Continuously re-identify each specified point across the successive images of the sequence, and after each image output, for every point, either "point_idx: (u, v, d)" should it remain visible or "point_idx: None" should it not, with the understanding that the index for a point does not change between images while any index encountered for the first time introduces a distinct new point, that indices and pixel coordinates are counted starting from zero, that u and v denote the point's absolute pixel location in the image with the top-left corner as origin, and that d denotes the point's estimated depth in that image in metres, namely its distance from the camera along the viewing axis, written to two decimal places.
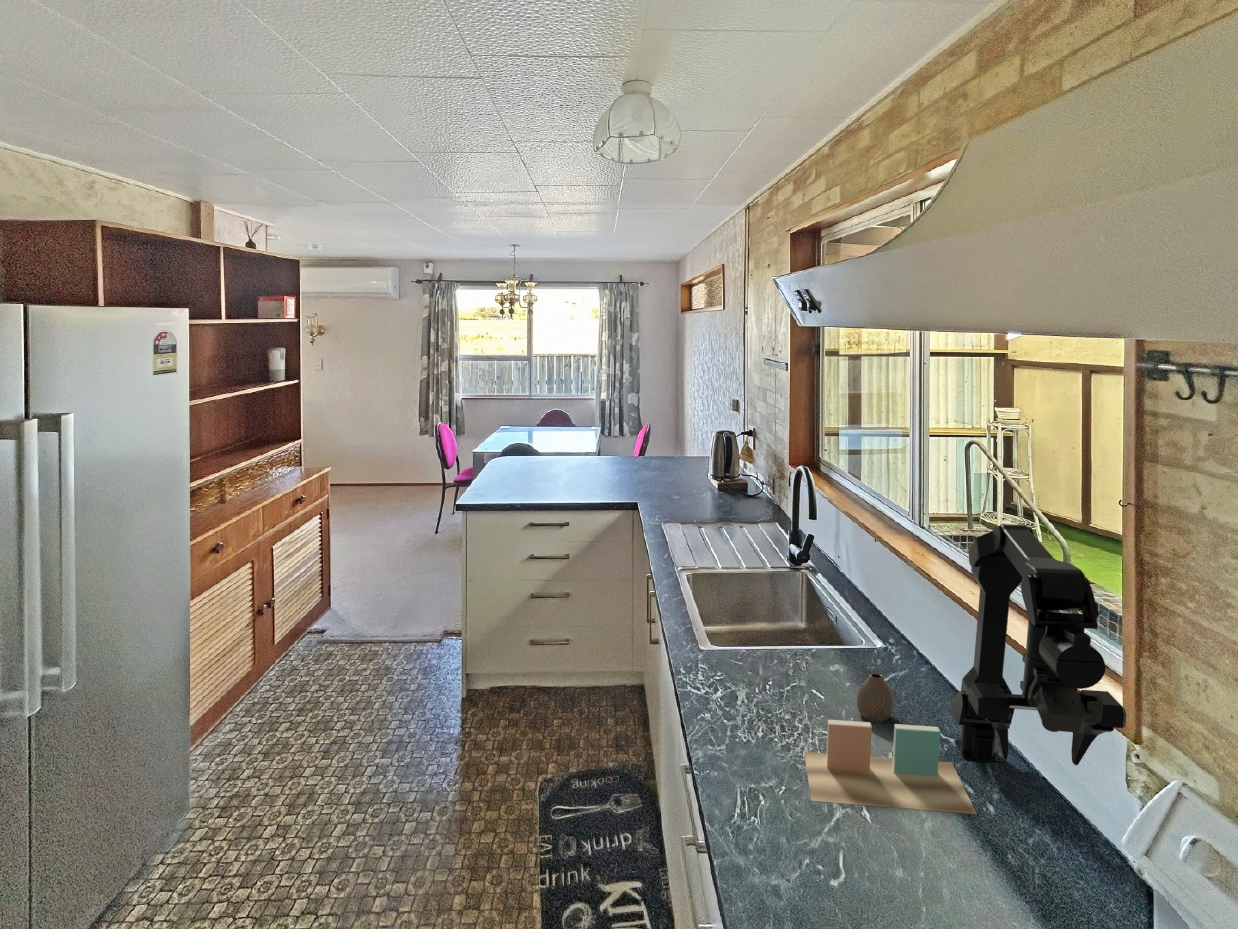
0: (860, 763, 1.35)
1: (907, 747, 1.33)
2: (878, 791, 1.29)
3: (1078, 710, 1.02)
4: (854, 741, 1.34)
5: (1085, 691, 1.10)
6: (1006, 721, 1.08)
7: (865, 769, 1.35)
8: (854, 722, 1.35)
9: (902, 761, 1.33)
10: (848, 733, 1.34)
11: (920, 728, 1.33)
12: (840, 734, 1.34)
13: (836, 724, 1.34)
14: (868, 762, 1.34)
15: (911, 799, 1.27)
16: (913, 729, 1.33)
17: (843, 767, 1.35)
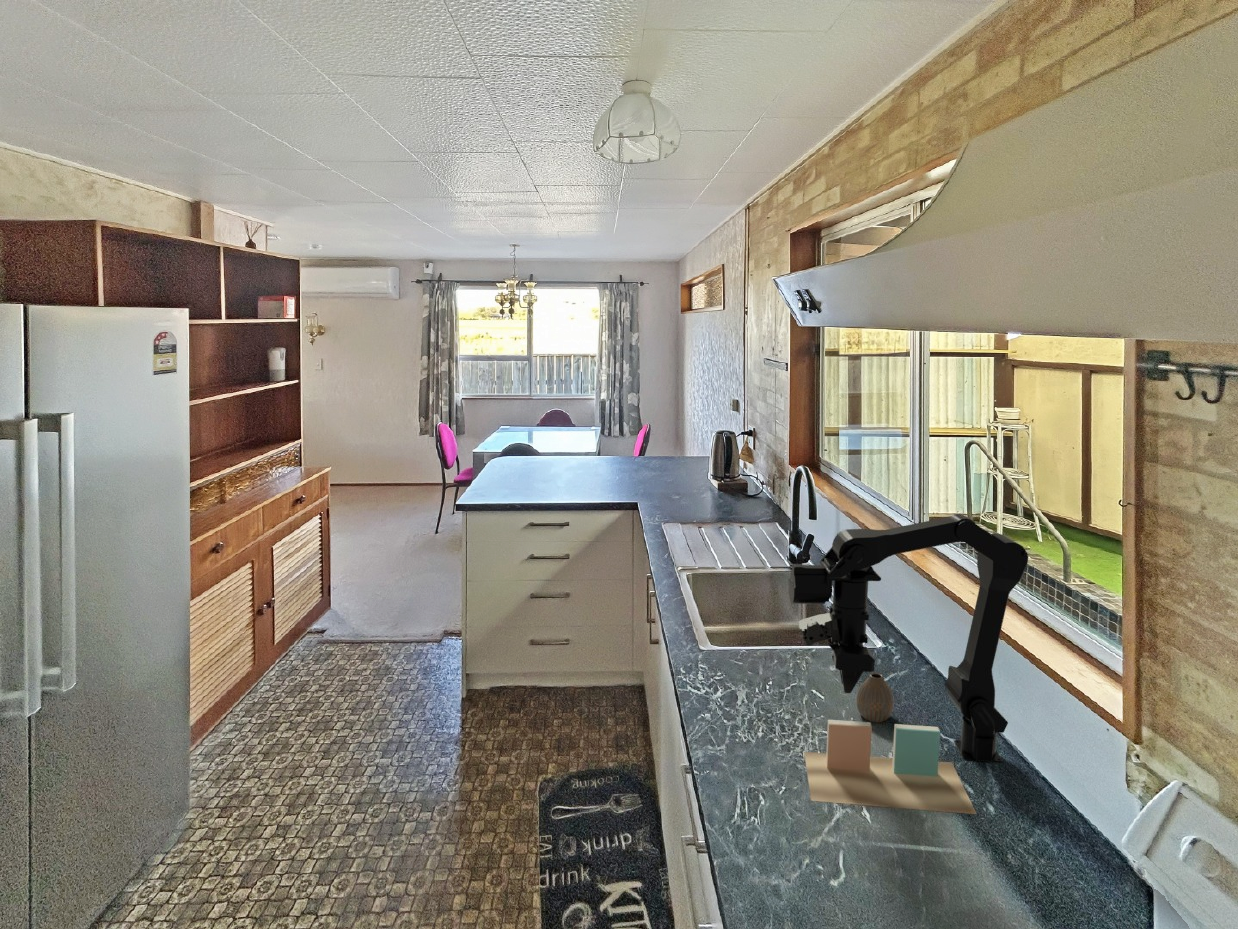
0: (860, 763, 1.35)
1: (907, 747, 1.33)
2: (878, 791, 1.29)
3: (805, 626, 1.38)
4: (854, 741, 1.34)
5: (863, 647, 1.32)
6: (829, 643, 1.42)
7: (865, 769, 1.35)
8: (854, 722, 1.35)
9: (902, 761, 1.33)
10: (848, 733, 1.34)
11: (920, 728, 1.33)
12: (840, 734, 1.34)
13: (836, 724, 1.34)
14: (868, 762, 1.34)
15: (911, 799, 1.27)
16: (913, 729, 1.33)
17: (843, 767, 1.35)
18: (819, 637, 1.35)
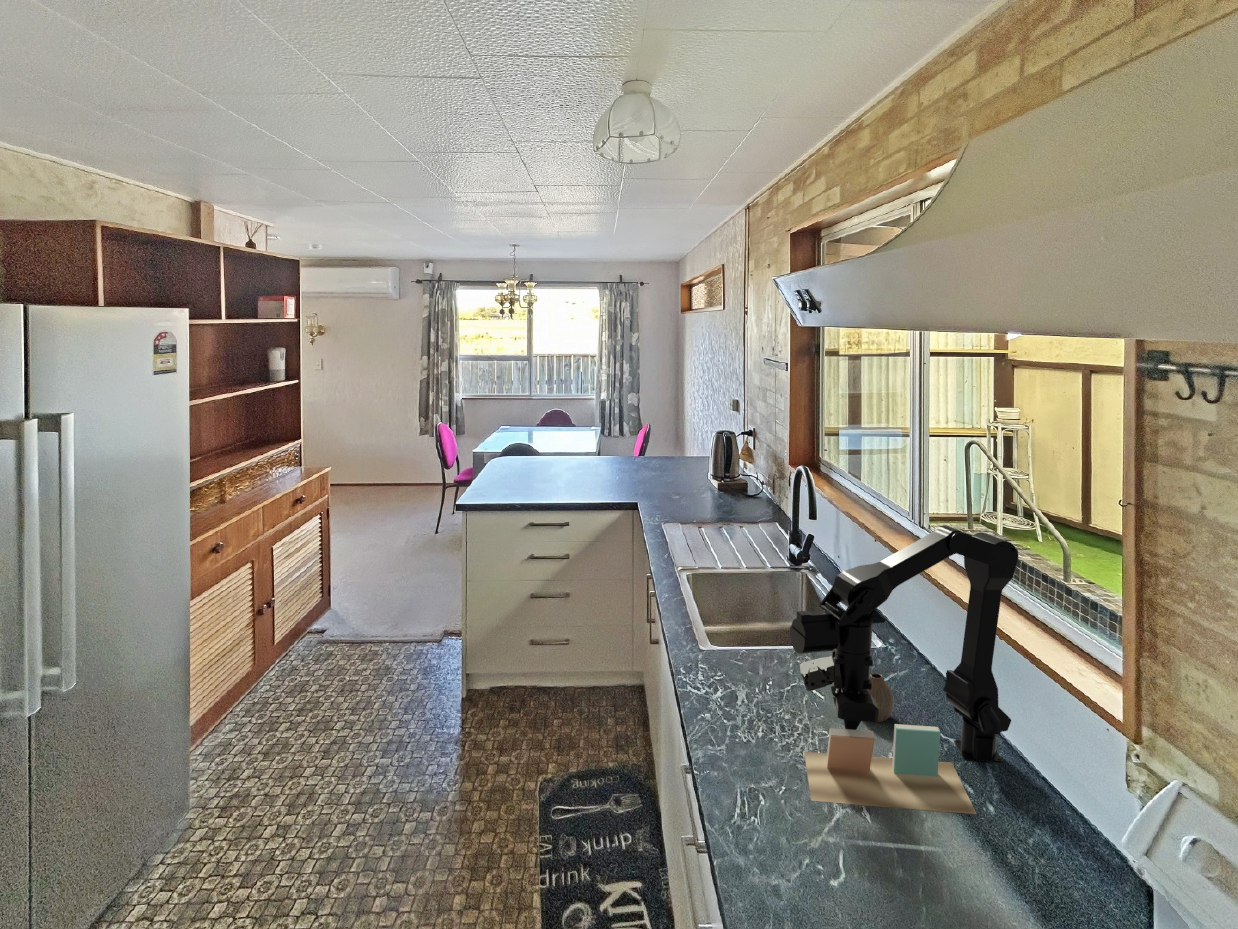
0: (860, 765, 1.34)
1: (907, 747, 1.33)
2: (878, 791, 1.29)
3: (806, 671, 1.33)
4: (856, 749, 1.32)
5: (867, 694, 1.27)
6: (833, 692, 1.35)
7: (865, 770, 1.34)
8: (857, 731, 1.32)
9: (902, 761, 1.33)
10: (850, 743, 1.32)
11: (920, 728, 1.33)
12: (842, 744, 1.32)
13: (838, 736, 1.31)
14: (869, 765, 1.34)
15: (911, 799, 1.27)
16: (913, 729, 1.33)
17: (843, 768, 1.35)
18: (821, 683, 1.29)
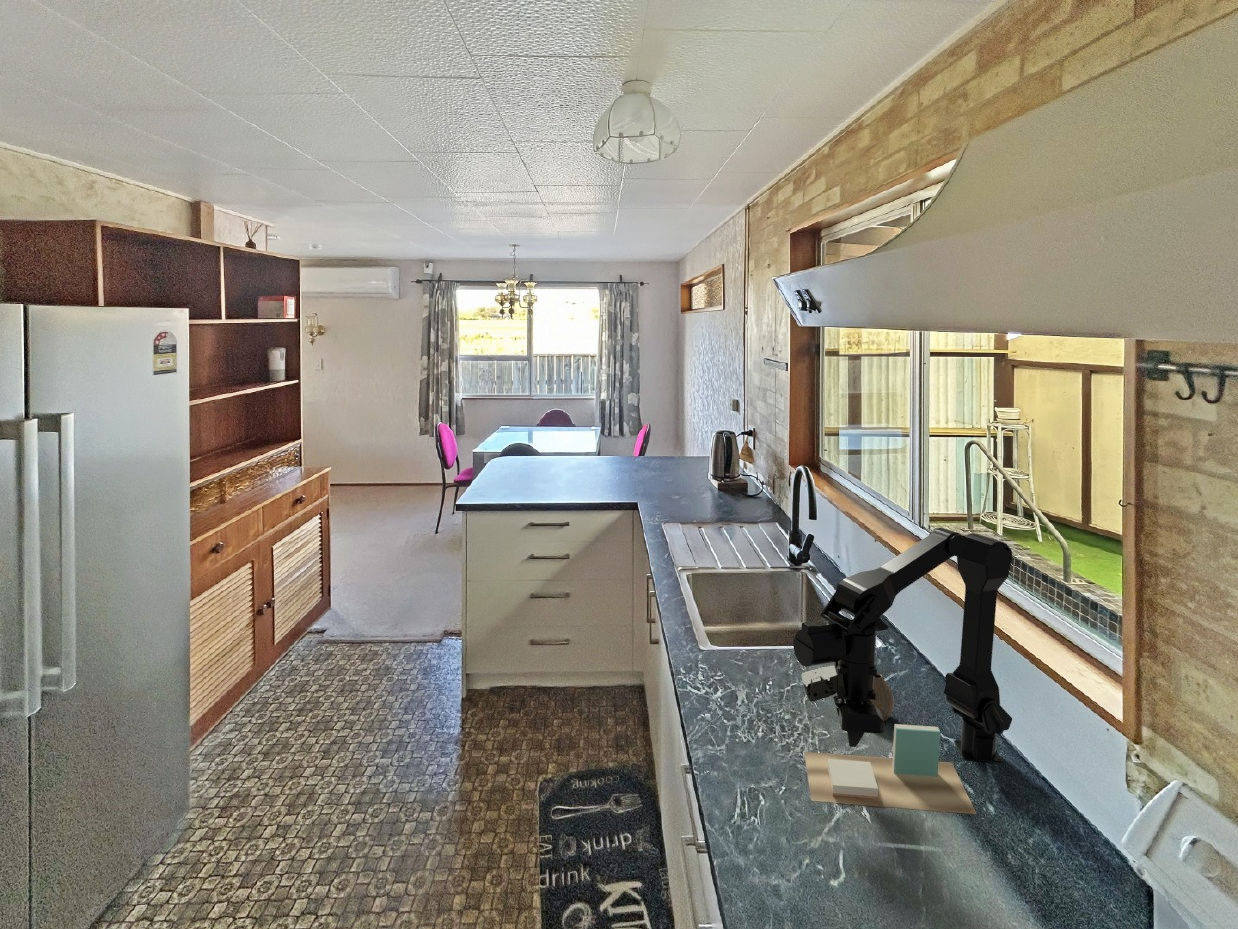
0: None
1: (907, 747, 1.33)
2: (878, 791, 1.29)
3: (808, 681, 1.29)
4: None
5: (871, 705, 1.24)
6: (836, 702, 1.32)
7: None
8: (861, 789, 1.27)
9: (902, 761, 1.33)
10: None
11: (920, 728, 1.33)
12: None
13: (840, 794, 1.27)
14: None
15: (911, 799, 1.27)
16: (913, 729, 1.33)
17: None
18: (824, 694, 1.26)
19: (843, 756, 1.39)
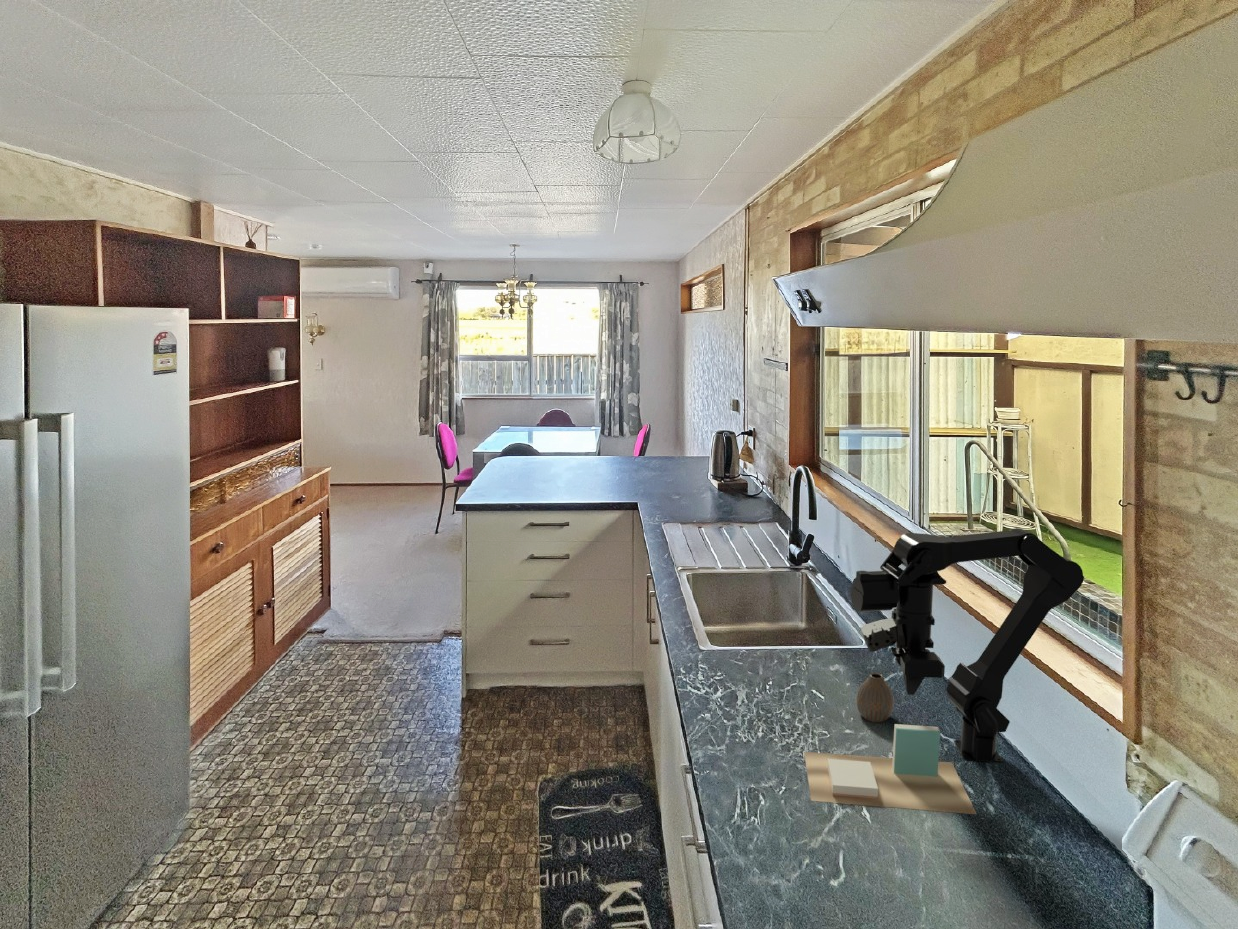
0: None
1: (907, 747, 1.33)
2: (878, 791, 1.29)
3: (869, 632, 1.36)
4: None
5: (931, 652, 1.30)
6: (894, 652, 1.38)
7: None
8: (861, 789, 1.27)
9: (902, 761, 1.33)
10: None
11: (920, 728, 1.33)
12: None
13: (840, 794, 1.27)
14: None
15: (911, 799, 1.27)
16: (913, 729, 1.33)
17: None
18: (885, 643, 1.33)
19: (843, 756, 1.39)
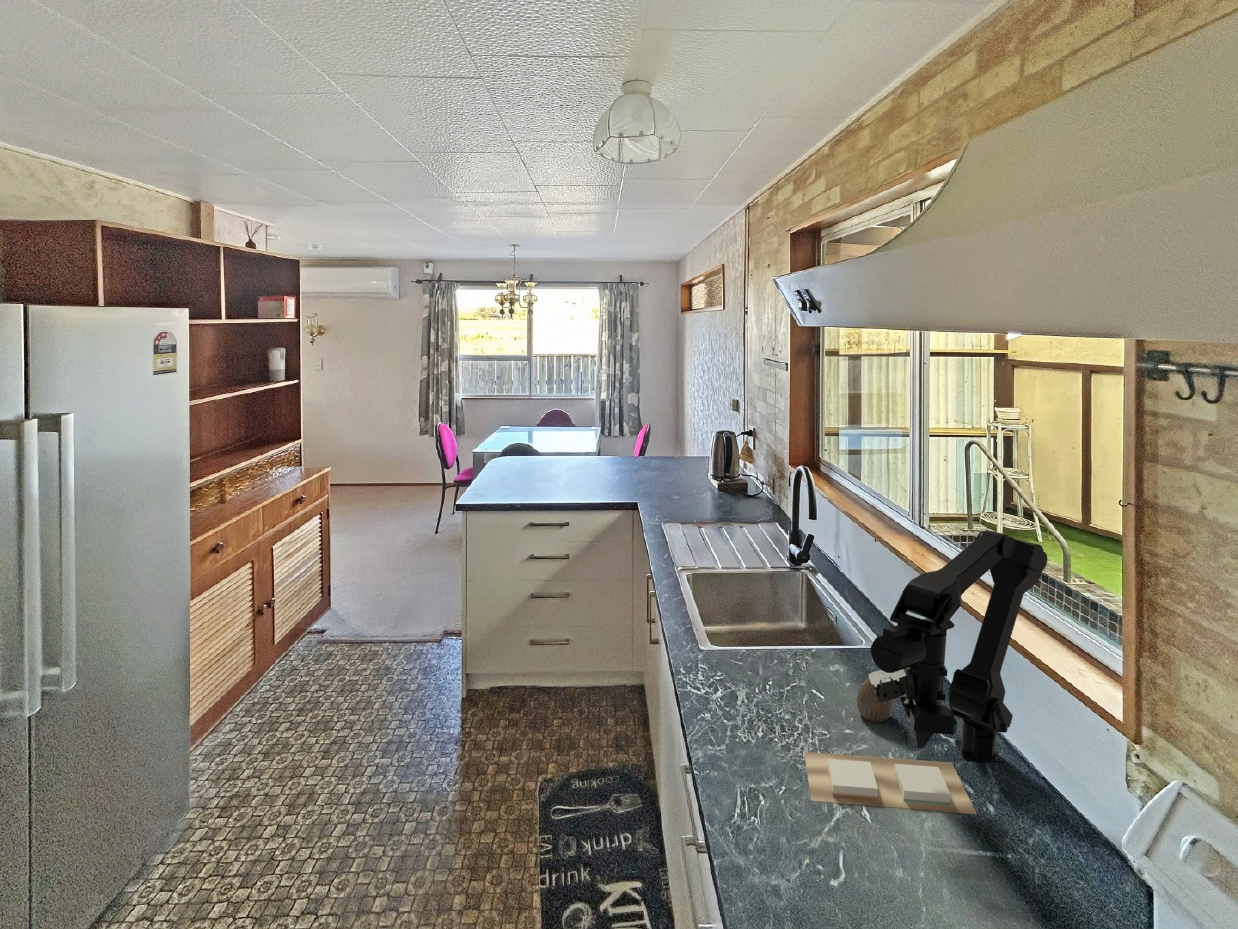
0: None
1: None
2: (878, 791, 1.29)
3: (877, 681, 1.28)
4: None
5: (942, 706, 1.23)
6: (903, 703, 1.31)
7: None
8: (861, 789, 1.27)
9: None
10: None
11: (930, 797, 1.25)
12: None
13: (840, 794, 1.27)
14: None
15: None
16: (922, 800, 1.26)
17: None
18: (894, 694, 1.25)
19: (843, 756, 1.39)
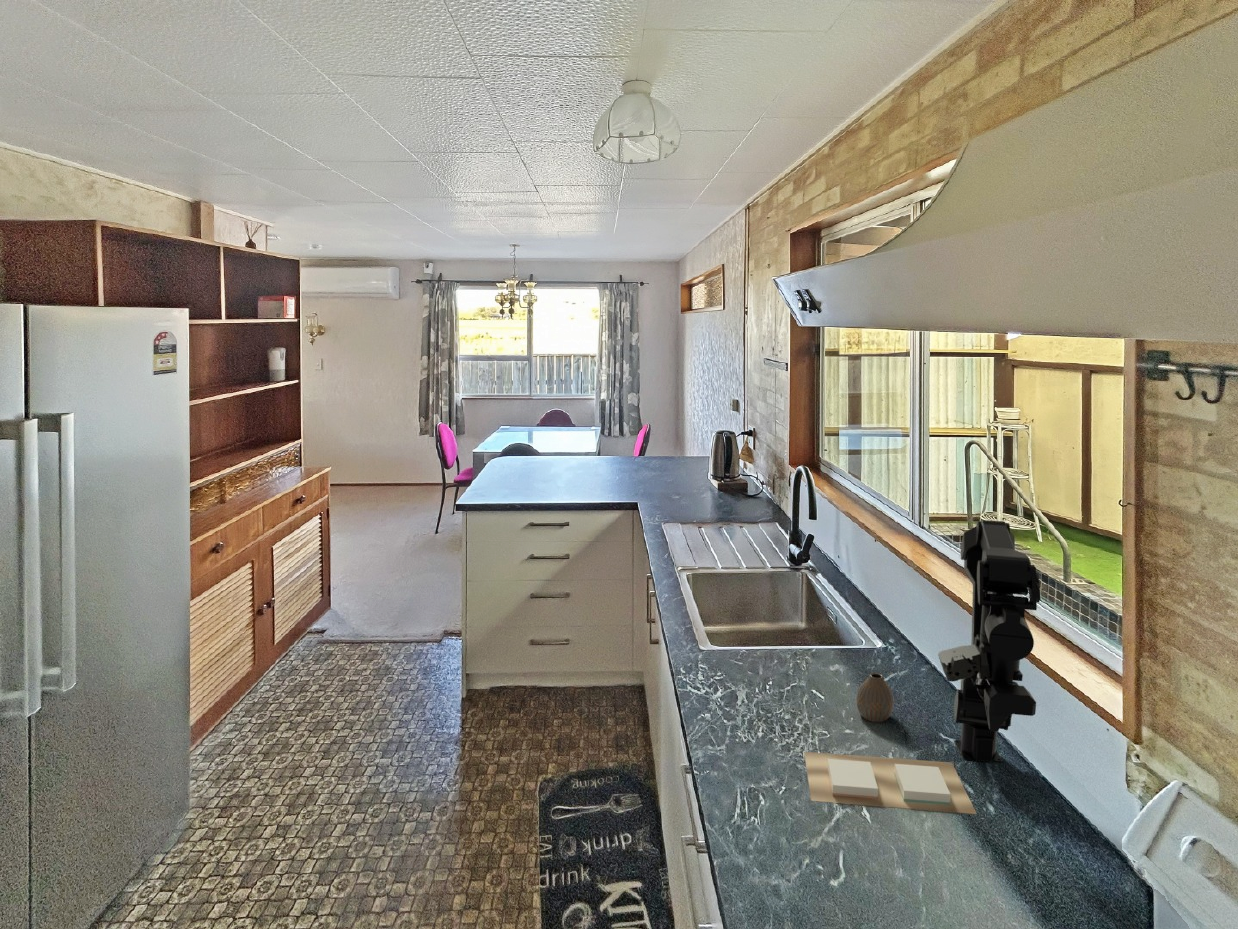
0: None
1: None
2: (878, 791, 1.29)
3: (948, 659, 1.22)
4: None
5: (1020, 686, 1.16)
6: (975, 683, 1.24)
7: None
8: (861, 789, 1.27)
9: None
10: None
11: (930, 797, 1.25)
12: None
13: (840, 794, 1.27)
14: None
15: None
16: (922, 800, 1.26)
17: None
18: (967, 673, 1.19)
19: (843, 756, 1.39)
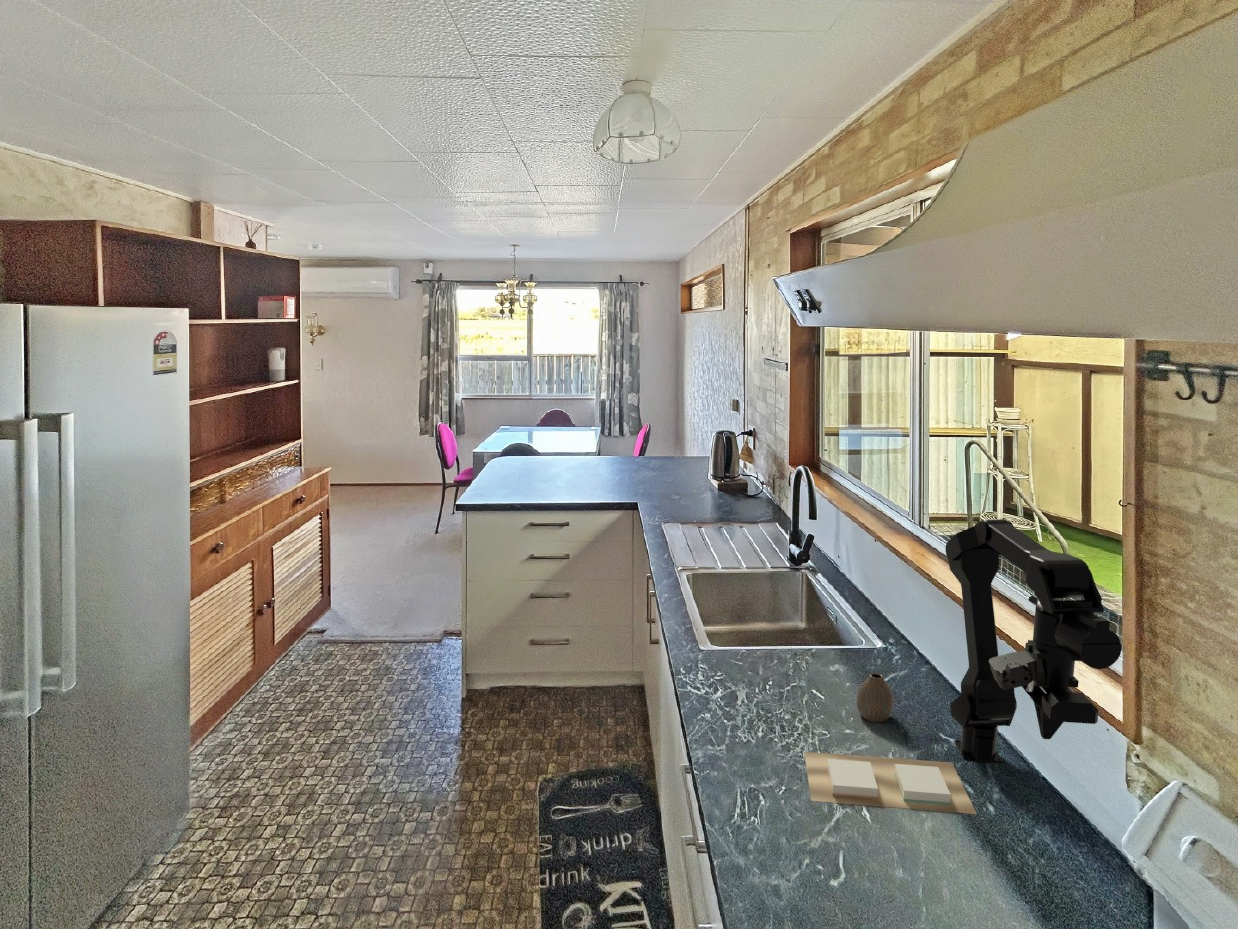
0: None
1: None
2: (878, 791, 1.29)
3: (1001, 667, 1.18)
4: None
5: (1079, 693, 1.13)
6: (1027, 690, 1.21)
7: None
8: (861, 789, 1.27)
9: None
10: None
11: (930, 797, 1.25)
12: None
13: (840, 794, 1.27)
14: None
15: None
16: (922, 800, 1.26)
17: None
18: (1023, 681, 1.15)
19: (843, 756, 1.39)
